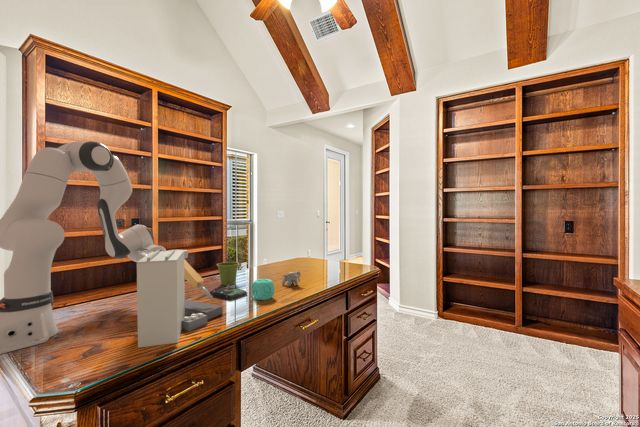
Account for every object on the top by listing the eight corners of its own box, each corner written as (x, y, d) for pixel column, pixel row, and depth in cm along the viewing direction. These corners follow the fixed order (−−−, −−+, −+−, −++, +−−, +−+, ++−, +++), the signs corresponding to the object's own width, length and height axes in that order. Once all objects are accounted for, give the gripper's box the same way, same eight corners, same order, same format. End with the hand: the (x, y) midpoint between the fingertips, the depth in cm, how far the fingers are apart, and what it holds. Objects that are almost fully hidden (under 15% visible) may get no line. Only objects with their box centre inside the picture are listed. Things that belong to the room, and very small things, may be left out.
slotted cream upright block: (177, 342, 97) (176, 256, 97) (137, 347, 94) (136, 258, 93) (184, 318, 118) (184, 247, 118) (152, 321, 115) (151, 249, 114)
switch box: (189, 331, 106) (189, 320, 106) (179, 328, 108) (179, 317, 108) (207, 323, 113) (207, 313, 113) (197, 321, 116) (197, 310, 116)
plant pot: (232, 280, 179) (232, 260, 179) (243, 284, 171) (242, 263, 170) (213, 283, 171) (212, 263, 171) (222, 288, 163) (222, 266, 162)
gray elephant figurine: (289, 283, 174) (288, 269, 174) (307, 284, 168) (306, 270, 168) (279, 287, 166) (278, 272, 166) (298, 288, 160) (297, 273, 160)
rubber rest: (206, 320, 116) (206, 312, 116) (170, 312, 125) (170, 304, 125) (222, 313, 123) (222, 306, 123) (187, 306, 132) (187, 299, 132)
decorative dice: (267, 294, 151) (267, 278, 151) (274, 298, 144) (274, 281, 144) (251, 297, 146) (251, 280, 146) (258, 301, 140) (258, 283, 140)
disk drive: (209, 296, 149) (230, 301, 141) (209, 291, 149) (230, 295, 141) (226, 291, 158) (247, 295, 150) (226, 286, 158) (247, 290, 150)
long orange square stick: (215, 302, 125) (218, 295, 124) (208, 304, 122) (212, 298, 121) (173, 256, 136) (176, 250, 135) (166, 257, 133) (169, 251, 132)
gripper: (176, 258, 148) (196, 261, 141) (133, 266, 129) (155, 270, 123) (176, 245, 147) (196, 247, 141) (133, 251, 129) (155, 254, 123)
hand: (177, 258), depth 132 cm, fingers closed on long orange square stick, 3 cm apart
